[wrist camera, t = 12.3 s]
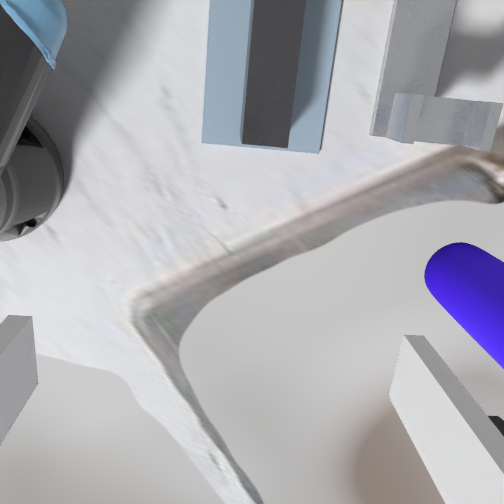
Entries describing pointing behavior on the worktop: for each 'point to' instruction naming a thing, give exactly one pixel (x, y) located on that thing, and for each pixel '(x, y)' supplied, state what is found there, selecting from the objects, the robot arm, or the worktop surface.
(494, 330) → the bottle
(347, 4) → the worktop surface
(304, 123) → the mat
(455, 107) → the standards
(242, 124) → the rail
